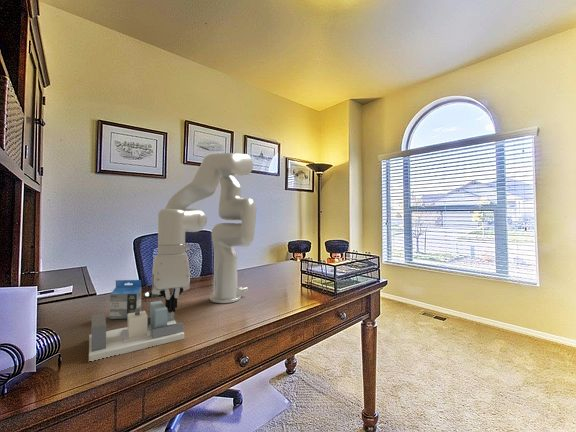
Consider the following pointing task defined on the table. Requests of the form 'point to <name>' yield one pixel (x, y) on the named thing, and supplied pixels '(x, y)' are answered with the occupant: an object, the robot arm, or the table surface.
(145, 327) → the block
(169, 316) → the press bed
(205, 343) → the table surface
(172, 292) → the dark green piece
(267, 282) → the table surface
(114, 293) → the label tape box
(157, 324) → the block
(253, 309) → the table surface
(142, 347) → the base
